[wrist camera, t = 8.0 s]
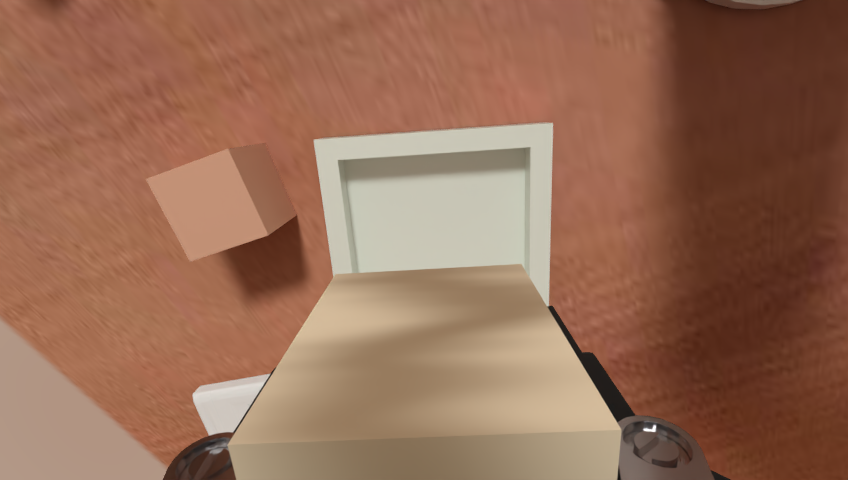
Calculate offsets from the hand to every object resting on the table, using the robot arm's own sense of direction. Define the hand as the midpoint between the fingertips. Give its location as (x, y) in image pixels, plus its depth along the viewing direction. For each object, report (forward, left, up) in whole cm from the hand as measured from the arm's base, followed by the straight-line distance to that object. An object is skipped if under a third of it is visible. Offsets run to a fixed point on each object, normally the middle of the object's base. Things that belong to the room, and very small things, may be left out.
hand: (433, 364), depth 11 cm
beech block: (0, 0, -1) cm, 1 cm away
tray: (0, 0, -12) cm, 12 cm away
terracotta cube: (+10, -3, -12) cm, 16 cm away
